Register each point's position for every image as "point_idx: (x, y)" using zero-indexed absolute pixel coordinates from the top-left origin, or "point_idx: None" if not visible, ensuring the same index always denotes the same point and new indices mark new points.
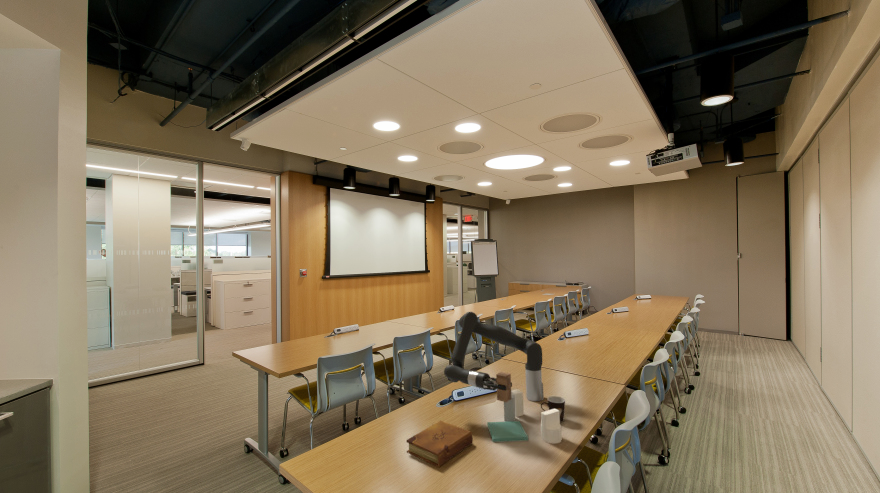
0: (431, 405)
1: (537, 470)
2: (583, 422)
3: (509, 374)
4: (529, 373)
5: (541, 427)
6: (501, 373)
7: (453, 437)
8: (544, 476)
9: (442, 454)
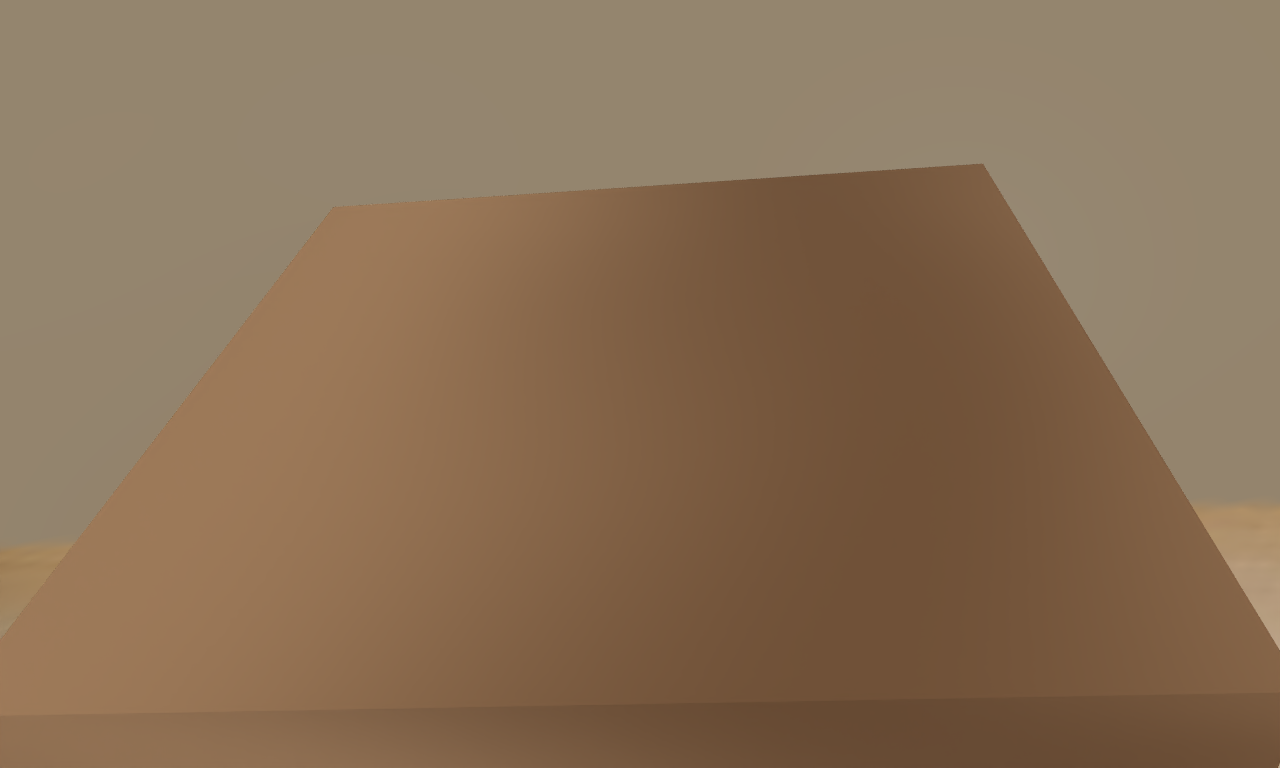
0: None
1: (1263, 609)
2: (21, 608)
3: (485, 204)
4: None
5: None
6: (568, 484)
7: None
8: (1275, 542)
9: None
